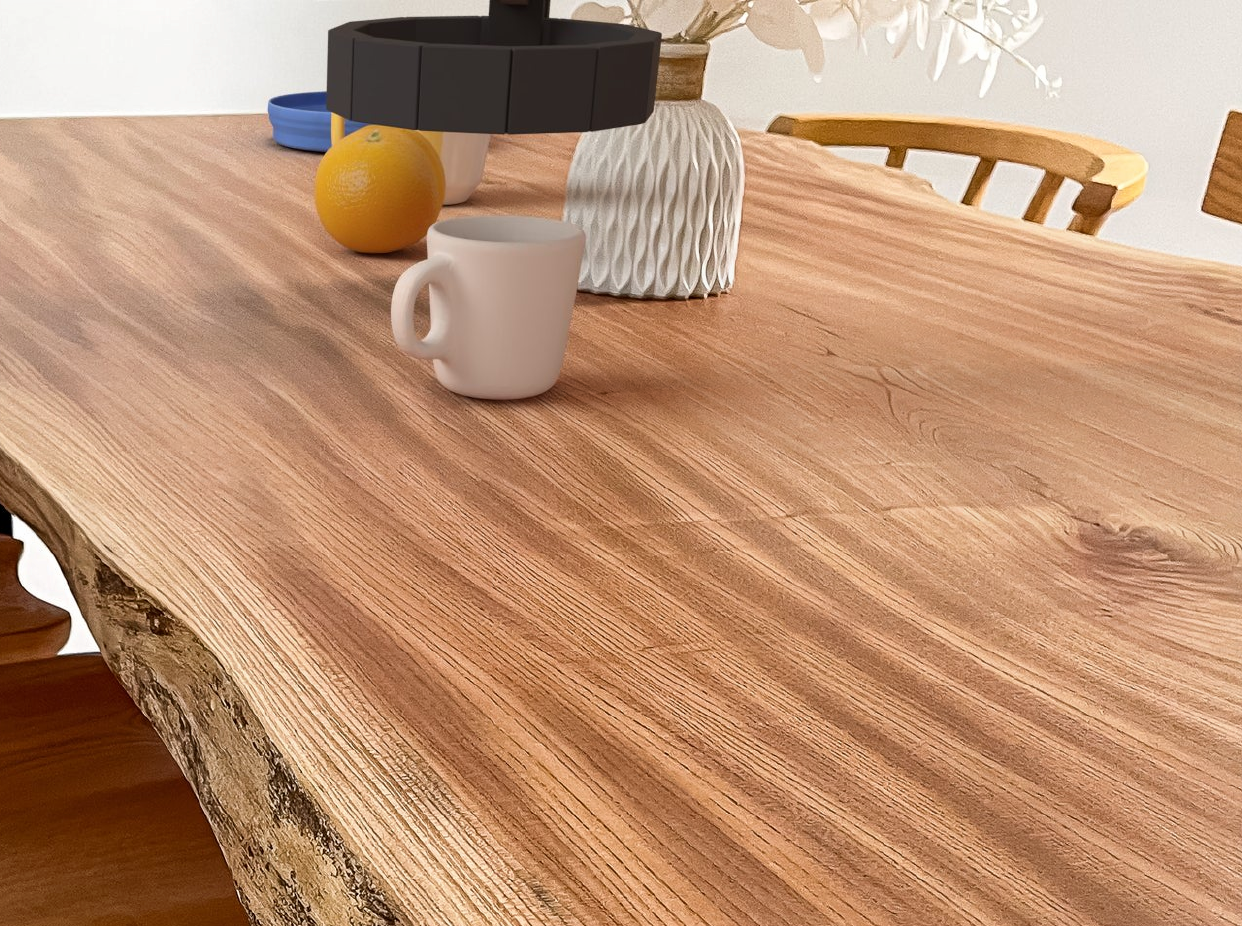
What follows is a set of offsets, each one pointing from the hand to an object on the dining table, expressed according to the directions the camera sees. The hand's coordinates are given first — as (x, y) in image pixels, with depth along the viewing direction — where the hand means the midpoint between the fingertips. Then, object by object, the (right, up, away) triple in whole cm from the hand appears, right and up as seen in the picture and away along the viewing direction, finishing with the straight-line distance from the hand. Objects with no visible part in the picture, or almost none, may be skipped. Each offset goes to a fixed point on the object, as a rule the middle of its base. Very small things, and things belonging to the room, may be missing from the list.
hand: (515, 73), depth 100 cm
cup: (-2, -16, +2) cm, 16 cm away
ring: (-2, -4, -5) cm, 7 cm away
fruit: (-5, +4, +34) cm, 35 cm away
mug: (-1, +15, +52) cm, 54 cm away
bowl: (-3, +30, +78) cm, 84 cm away
